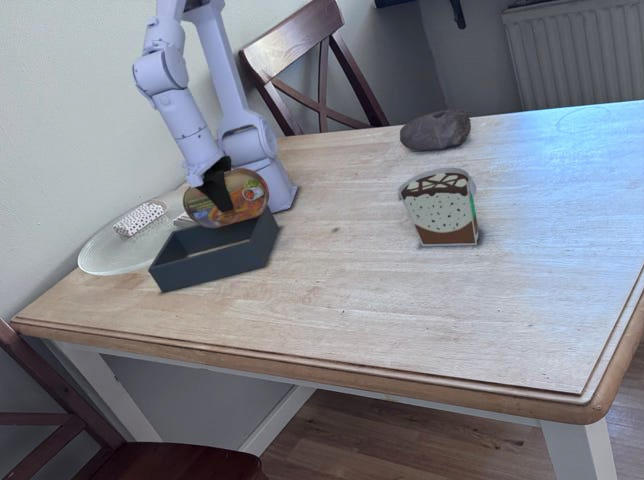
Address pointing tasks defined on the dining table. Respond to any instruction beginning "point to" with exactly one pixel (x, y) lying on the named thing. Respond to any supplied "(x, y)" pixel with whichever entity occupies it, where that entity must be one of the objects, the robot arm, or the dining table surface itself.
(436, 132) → the perforated stone tool
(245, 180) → the tin
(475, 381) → the dining table surface
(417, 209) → the food container
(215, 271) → the bin
